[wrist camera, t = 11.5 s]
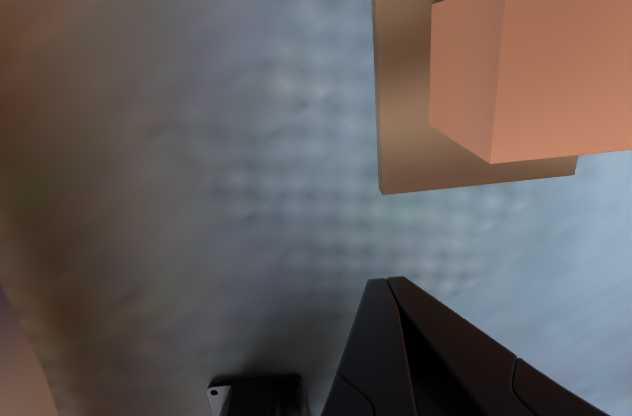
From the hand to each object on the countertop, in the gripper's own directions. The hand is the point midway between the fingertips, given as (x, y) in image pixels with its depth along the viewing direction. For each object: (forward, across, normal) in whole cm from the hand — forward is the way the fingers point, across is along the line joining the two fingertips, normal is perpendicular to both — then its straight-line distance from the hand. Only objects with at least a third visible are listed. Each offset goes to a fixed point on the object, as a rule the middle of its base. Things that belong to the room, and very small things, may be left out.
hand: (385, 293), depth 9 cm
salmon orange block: (+11, -7, -4) cm, 14 cm away
